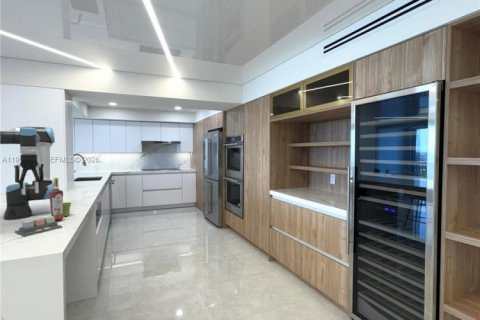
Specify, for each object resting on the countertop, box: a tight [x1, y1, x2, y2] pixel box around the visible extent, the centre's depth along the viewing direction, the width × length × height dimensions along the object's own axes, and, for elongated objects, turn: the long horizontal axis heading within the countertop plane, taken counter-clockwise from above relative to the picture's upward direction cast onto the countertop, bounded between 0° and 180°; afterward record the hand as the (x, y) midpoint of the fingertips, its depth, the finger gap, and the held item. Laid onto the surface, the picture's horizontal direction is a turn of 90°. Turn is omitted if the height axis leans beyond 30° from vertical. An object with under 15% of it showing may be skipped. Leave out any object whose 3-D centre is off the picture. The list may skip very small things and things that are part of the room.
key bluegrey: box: [21, 220, 34, 229], centre depth 143 cm, size 4×4×3 cm
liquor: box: [49, 177, 64, 222], centre depth 166 cm, size 7×7×28 cm
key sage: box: [43, 215, 55, 224], centre depth 152 cm, size 4×4×3 cm
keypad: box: [14, 221, 63, 237], centre depth 148 cm, size 13×18×3 cm
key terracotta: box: [32, 217, 45, 226], centre depth 147 cm, size 4×4×3 cm
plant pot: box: [63, 202, 72, 218], centre depth 178 cm, size 9×9×9 cm
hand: (30, 193), depth 149 cm, fingers open, 6 cm apart
